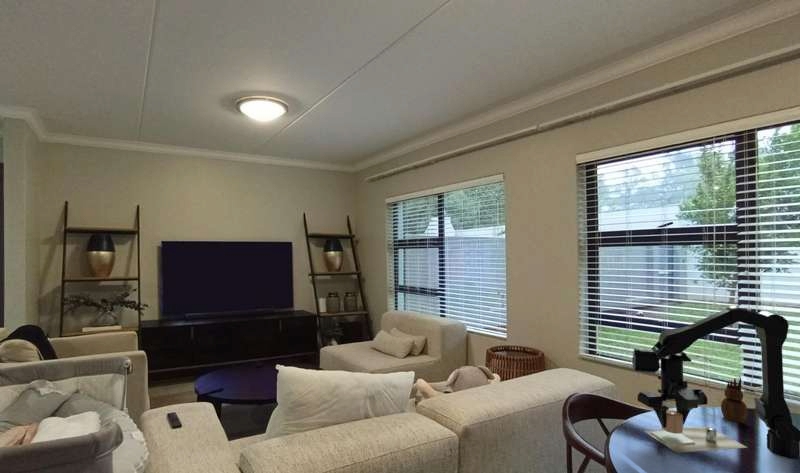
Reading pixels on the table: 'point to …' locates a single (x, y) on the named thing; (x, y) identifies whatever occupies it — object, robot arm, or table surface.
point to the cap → (674, 422)
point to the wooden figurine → (734, 403)
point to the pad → (672, 438)
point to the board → (701, 441)
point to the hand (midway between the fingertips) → (672, 426)
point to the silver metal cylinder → (711, 435)
